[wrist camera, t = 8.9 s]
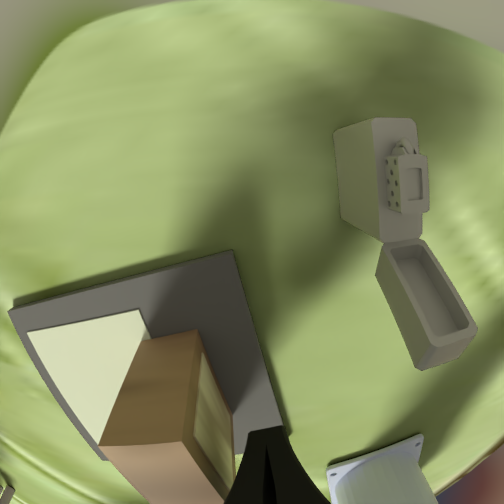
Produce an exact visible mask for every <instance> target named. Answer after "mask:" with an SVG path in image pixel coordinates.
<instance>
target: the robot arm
mask: <svg viewBox="0 0 504 504" xmlns="http://www.w3.org/2000/svg"><path fill="white" fill-rule="evenodd" d="M423 440H424V437H423V435H422V434H418V435H415V436H413V437H411V438H408V439H406V440H403V441H401V442H399V443H396V444H393V445H391V446H388V447H386V448H383V449H380V450H377V451H375V452H372V453H369V454H366V455H363V456H360V457H357V458H354V459H351V460H347V461H344V462H341V463H337V464H334V465H330V466H328V467H327V468H326V474H327V480H328V485H329V491H330V497H331V503H332V504H438V502H437V500H436V498H435V496H434V494H433V492H432V490H431V488H430V486H429V484H428V482H427V480H426V478H425V476H424V474H423V472H422V470H421V468H420V467H419V465H418V461H419V457H420V453H421V449H422V445H423ZM331 503H330V502H329V501H328V500H327V499H326V498H325V496H324V495H323V494H322V493H321V492H320V491H319V489H318V488H317V487H316V485H315V484H314V483H313V481H312V480H311V479H310V477H309V476H308V474H307V473H306V471H305V470H304V468H303V467H302V465H301V463H300V462H299V460H298V458H297V457H296V455H295V453H294V451H293V449H292V447H291V445H290V442H289V438H288V435H287V432H286V428H285V426H283V425H279V426H275V427H270V428H265V429H259V430H254V431H250V432H249V433H248V437H247V442H246V447H245V451H244V454H243V458H242V461H241V464H240V467H239V470H238V472H237V475H236V478H235V480H234V483H233V485H232V487H231V489H230V492H229V494H228V496H227V498H226V500H225V502H224V504H331Z"/></svg>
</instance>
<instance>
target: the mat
mask: <svg viewBox="0 0 504 504" xmlns="http://www.w3.org/2000/svg"><path fill="white" fill-rule="evenodd" d="M8 314H9V316H10V318H11V321H12V323H13V325H14V327H15V329H16V331H17V333H18V335H19V337H20V339H21V341H22V343H23V345H24V347H25V349H26V351H27V352H28V354H29V356H30V358H31V360H32V361H33V363H34V365H35V367H36V368H37V370H38V372H39V374H40V375H41V377H42V379H43V380H44V382H45V383H46V385H47V387H48V388H49V390H50V391H51V393H52V394H53V396H54V398H55V399H56V401H57V402H58V404H59V405H60V406H61V408H62V409H63V411H64V412H65V414H66V415H67V416H68V418H69V419H70V421H71V422H72V423H73V425H74V426H75V427H76V429H77V430H78V431H79V433H80V434H81V435H82V436H83V438H84V439H85V440H86V442H87V443H88V444H89V445H90V447H91V448H92V449H93V450H94V451H95V453H96V454H97V455H98V456H99V457H100V458H101V460H104V461H109V459H108V458H107V457H106V456H105V455H104V453H103V452H102V451H101V450H100V449H99V447H98V444H99V441H100V439H101V436H102V433H103V431H104V428H105V426H106V423H107V421H108V418H109V415H110V413H111V410H112V408H113V405H114V403H115V400H116V398H117V396H118V393H119V391H120V388H121V386H122V384H123V381H124V379H125V376H126V374H127V372H128V369H129V367H130V365H131V362H132V360H133V358H134V355H135V353H136V351H137V349H138V346H139V344H140V342H141V341H144V340H149V339H154V338H159V337H163V336H168V335H173V334H177V333H182V332H186V331H190V330H195V329H198V332H199V334H200V337H201V340H202V342H203V345H204V347H205V350H206V352H207V355H208V357H209V360H210V362H211V365H212V367H213V370H214V372H215V375H216V377H217V380H218V382H219V384H220V387H221V389H222V392H223V394H224V396H225V399H226V401H227V403H228V406H229V408H230V410H231V412H232V415H233V433H234V452H235V455H236V454H242V453H244V451H245V447H246V442H247V437H248V433H249V432H250V431H254V430H259V429H265V428H270V427H275V426H279V425H283V426H284V424H283V421H282V417H281V414H280V411H279V408H278V404H277V401H276V398H275V395H274V391H273V388H272V385H271V381H270V378H269V375H268V371H267V368H266V365H265V361H264V358H263V354H262V351H261V348H260V344H259V341H258V337H257V334H256V331H255V327H254V324H253V320H252V317H251V313H250V310H249V307H248V303H247V300H246V296H245V293H244V289H243V286H242V282H241V279H240V275H239V272H238V268H237V264H236V261H235V257H234V254H233V250H230V251H226V252H222V253H218V254H214V255H210V256H206V257H202V258H199V259H195V260H191V261H187V262H183V263H179V264H175V265H171V266H168V267H164V268H160V269H156V270H152V271H148V272H145V273H141V274H137V275H133V276H129V277H126V278H122V279H118V280H114V281H110V282H106V283H103V284H99V285H95V286H91V287H88V288H84V289H80V290H76V291H73V292H69V293H65V294H61V295H58V296H54V297H50V298H46V299H43V300H39V301H35V302H31V303H28V304H24V305H20V306H17V307H13V308H11V309H10V310H9V311H8Z"/></svg>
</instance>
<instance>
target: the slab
mask: <svg viewBox="0 0 504 504" xmlns="http://www.w3.org/2000/svg"><path fill="white" fill-rule="evenodd" d="M98 447H99V449H100V450H101V451H102V452H103V453H104V455H105V456H106V457H107V458H108V459H109V461H110V462H111V463H112V464H113V465H114V466H115V467H116V469H117V470H118V471H119V472H120V473H121V474H122V475H123V476H124V477H125V478H126V479H127V481H128V482H129V483H130V484H131V485H132V486H133V487H134V488H135V489H136V490H137V491H138V492H139V493H140V494H141V495H142V496H143V497H144V498H145V499H146V500H147V501H148V502H149V503H150V504H224V502H225V500H226V498H227V496H228V494H229V492H230V489H231V487H232V485H233V483H234V480H235V478H236V469H235V452H234V433H233V415H232V412H231V410H230V408H229V406H228V403H227V401H226V399H225V396H224V394H223V392H222V389H221V387H220V384H219V382H218V380H217V377H216V375H215V372H214V370H213V367H212V365H211V362H210V360H209V357H208V355H207V352H206V350H205V347H204V345H203V342H202V340H201V337H200V334H199V332H198V329H195V330H190V331H186V332H182V333H177V334H173V335H168V336H163V337H159V338H154V339H149V340H144V341H141V342H140V344H139V346H138V349H137V351H136V353H135V355H134V358H133V360H132V362H131V365H130V367H129V369H128V372H127V374H126V376H125V379H124V381H123V384H122V386H121V388H120V391H119V393H118V396H117V398H116V400H115V403H114V405H113V408H112V410H111V413H110V415H109V418H108V421H107V423H106V426H105V428H104V431H103V433H102V436H101V439H100V441H99V444H98Z"/></svg>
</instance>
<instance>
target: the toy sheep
mask: <svg viewBox="0 0 504 504" xmlns="http://www.w3.org/2000/svg"><path fill="white" fill-rule="evenodd" d="M2 490H3V488H2V487H0V494H1V492H2ZM14 492H15V490H14V489H12V488H11V487H9V486H8V485H7V486H6V488H5V490H4V492H3V494H2V496H1V499H0V504H9V503H10V501H11V499H12V496H13V494H14Z"/></svg>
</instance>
